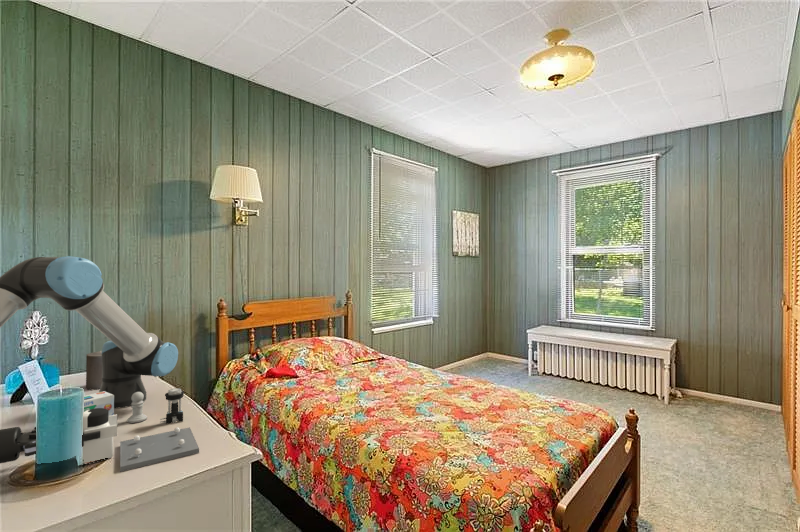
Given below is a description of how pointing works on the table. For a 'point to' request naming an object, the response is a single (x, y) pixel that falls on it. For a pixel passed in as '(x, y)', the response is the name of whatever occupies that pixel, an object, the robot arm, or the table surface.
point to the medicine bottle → (101, 446)
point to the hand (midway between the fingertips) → (116, 424)
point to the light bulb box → (99, 401)
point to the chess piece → (137, 408)
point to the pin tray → (157, 448)
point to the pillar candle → (94, 370)
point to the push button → (174, 406)
